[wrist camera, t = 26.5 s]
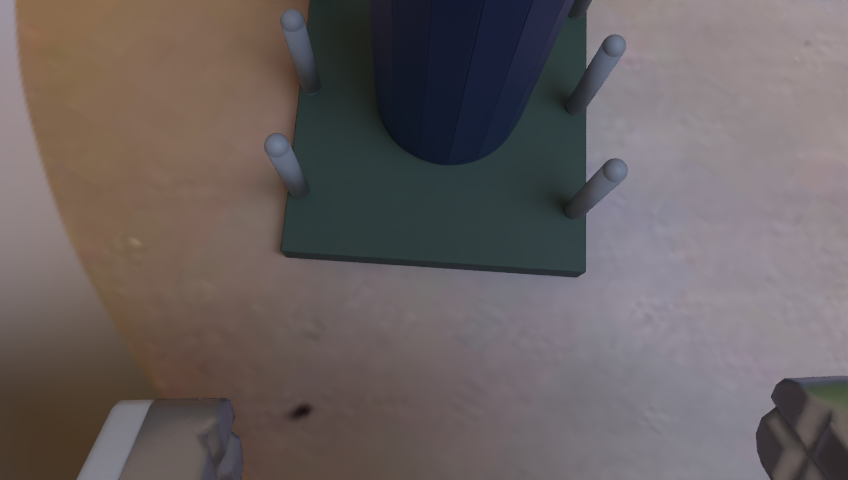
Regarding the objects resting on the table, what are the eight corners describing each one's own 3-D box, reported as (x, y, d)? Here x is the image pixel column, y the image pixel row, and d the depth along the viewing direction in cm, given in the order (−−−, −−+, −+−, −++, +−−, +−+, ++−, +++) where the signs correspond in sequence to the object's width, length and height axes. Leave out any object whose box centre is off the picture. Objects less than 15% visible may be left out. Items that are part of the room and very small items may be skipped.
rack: (577, 277, 25) (635, 243, 19) (285, 257, 25) (248, 216, 19) (579, -20, 29) (629, -132, 22) (320, -42, 28) (298, -161, 22)
